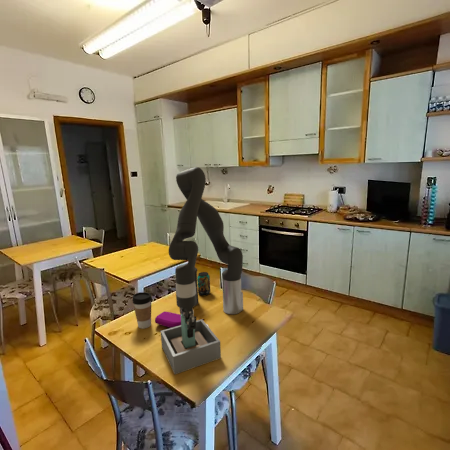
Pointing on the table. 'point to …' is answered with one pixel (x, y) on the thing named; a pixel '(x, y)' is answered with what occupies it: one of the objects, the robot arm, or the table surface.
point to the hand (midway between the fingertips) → (188, 333)
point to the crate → (194, 355)
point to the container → (196, 286)
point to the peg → (185, 340)
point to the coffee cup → (142, 309)
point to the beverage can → (203, 283)
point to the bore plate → (179, 347)
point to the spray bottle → (169, 319)
